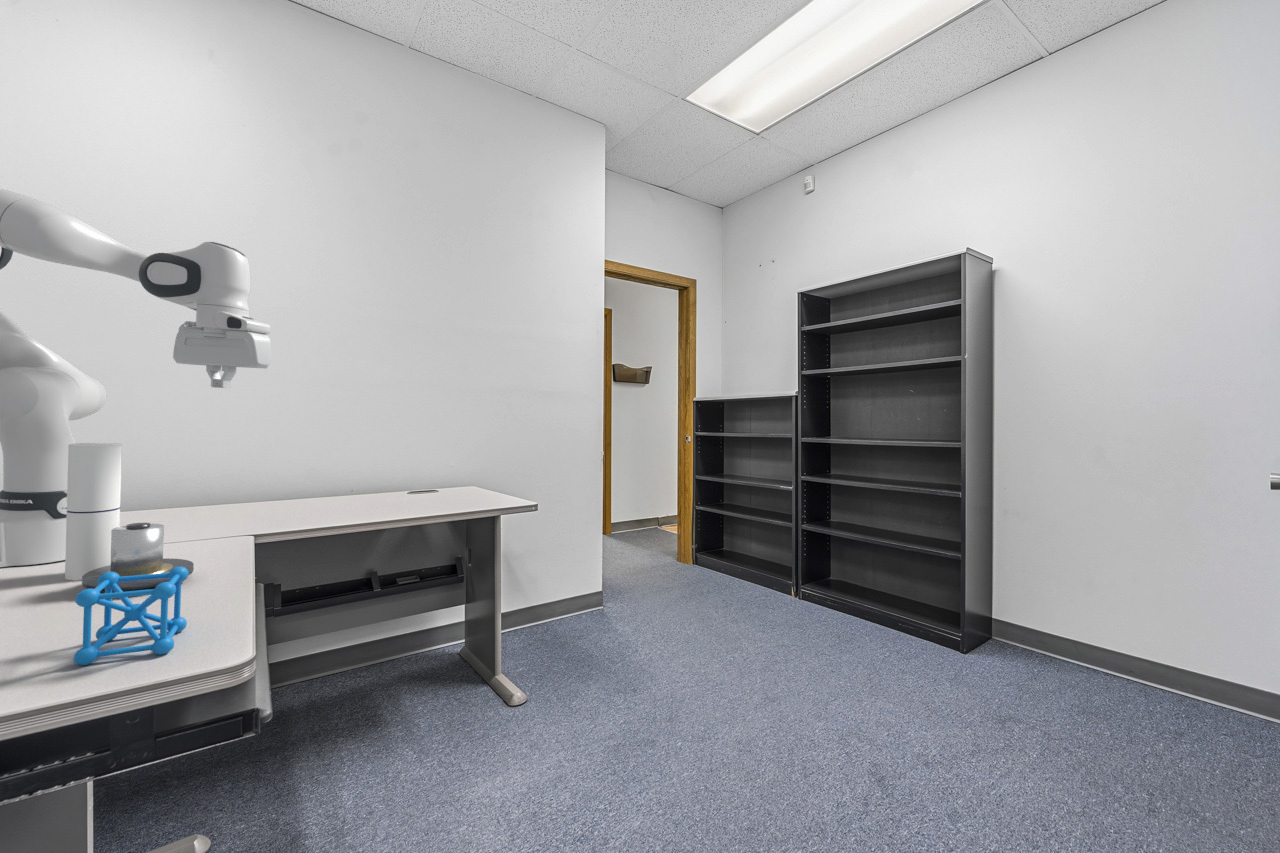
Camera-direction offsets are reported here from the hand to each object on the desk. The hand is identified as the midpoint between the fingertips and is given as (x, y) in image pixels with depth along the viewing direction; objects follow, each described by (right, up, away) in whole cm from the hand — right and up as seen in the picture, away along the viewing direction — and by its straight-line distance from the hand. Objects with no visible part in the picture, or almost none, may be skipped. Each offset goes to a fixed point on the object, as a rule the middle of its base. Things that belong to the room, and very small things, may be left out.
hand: (220, 387), depth 114 cm
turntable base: (-3, -37, -15) cm, 40 cm away
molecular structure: (+18, -40, -38) cm, 58 cm away
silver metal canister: (-3, -35, -16) cm, 38 cm away
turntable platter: (-3, -36, -15) cm, 39 cm away
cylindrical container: (-16, -37, -11) cm, 42 cm away
